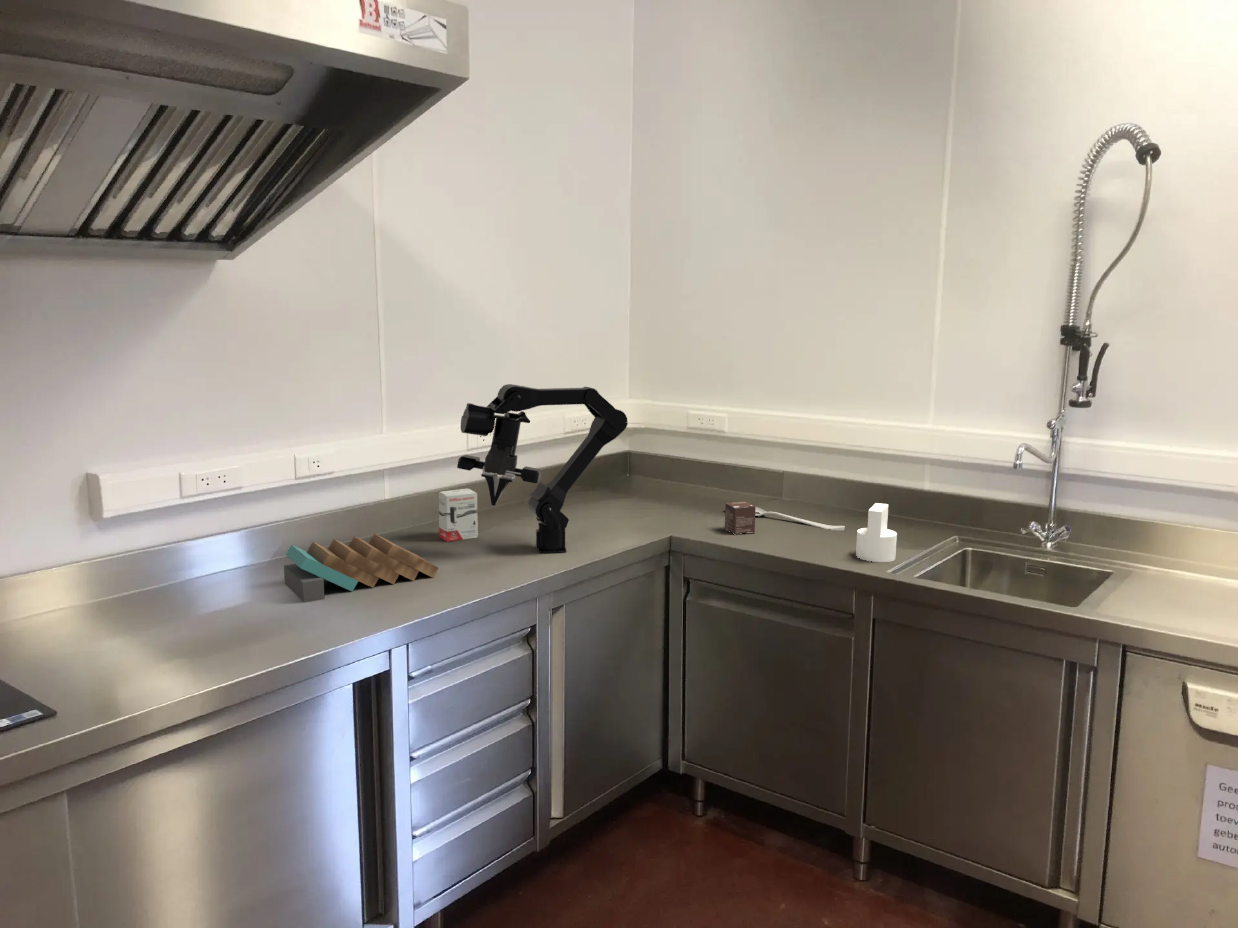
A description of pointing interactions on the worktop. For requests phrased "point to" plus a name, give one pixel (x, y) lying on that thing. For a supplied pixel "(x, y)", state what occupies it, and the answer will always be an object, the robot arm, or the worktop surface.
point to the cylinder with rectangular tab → (876, 537)
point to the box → (740, 517)
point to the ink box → (458, 515)
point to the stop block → (303, 583)
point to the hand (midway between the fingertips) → (493, 505)
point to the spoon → (800, 520)
